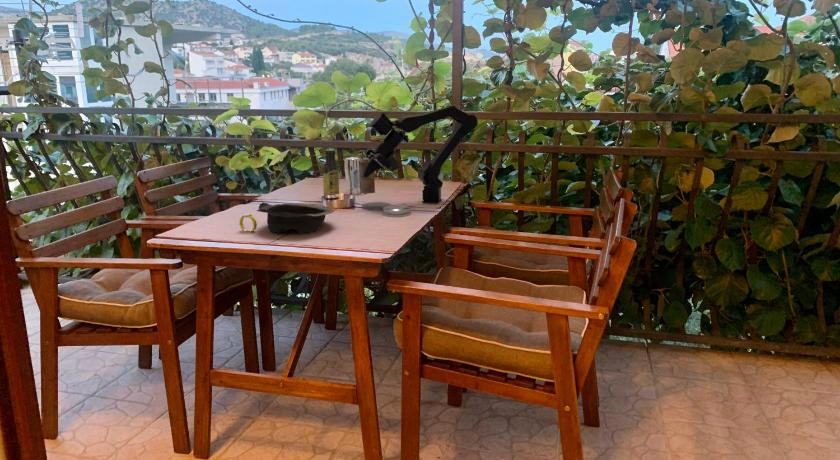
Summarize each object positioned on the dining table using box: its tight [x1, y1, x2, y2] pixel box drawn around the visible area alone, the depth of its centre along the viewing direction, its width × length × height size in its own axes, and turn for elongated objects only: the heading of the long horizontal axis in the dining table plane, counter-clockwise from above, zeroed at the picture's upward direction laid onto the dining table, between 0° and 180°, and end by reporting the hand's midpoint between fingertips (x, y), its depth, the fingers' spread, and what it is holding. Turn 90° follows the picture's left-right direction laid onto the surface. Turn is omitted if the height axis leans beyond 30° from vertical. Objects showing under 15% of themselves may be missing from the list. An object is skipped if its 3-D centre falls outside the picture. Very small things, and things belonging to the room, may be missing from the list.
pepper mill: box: [358, 157, 376, 195], centre depth 226 cm, size 5×5×13 cm
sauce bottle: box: [322, 149, 340, 197], centre depth 244 cm, size 7×6×20 cm
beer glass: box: [344, 156, 362, 196], centre depth 253 cm, size 7×7×15 cm
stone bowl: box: [256, 201, 335, 234], centre depth 200 cm, size 25×25×9 cm
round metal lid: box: [382, 204, 411, 218], centre depth 219 cm, size 10×10×2 cm
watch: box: [239, 213, 258, 232], centre depth 198 cm, size 6×3×6 cm, turn 67°
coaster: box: [361, 201, 391, 211], centre depth 231 cm, size 11×11×1 cm
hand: (363, 175), depth 226 cm, fingers closed on pepper mill, 5 cm apart
